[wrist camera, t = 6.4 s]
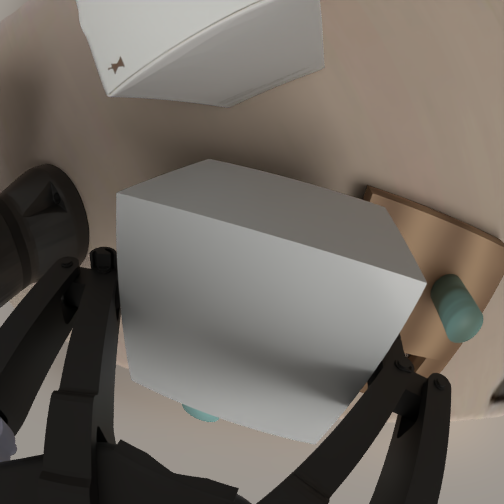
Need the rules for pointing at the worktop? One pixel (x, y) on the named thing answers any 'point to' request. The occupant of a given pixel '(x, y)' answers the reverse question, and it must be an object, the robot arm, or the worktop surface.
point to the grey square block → (259, 294)
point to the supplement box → (201, 47)
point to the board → (435, 261)
